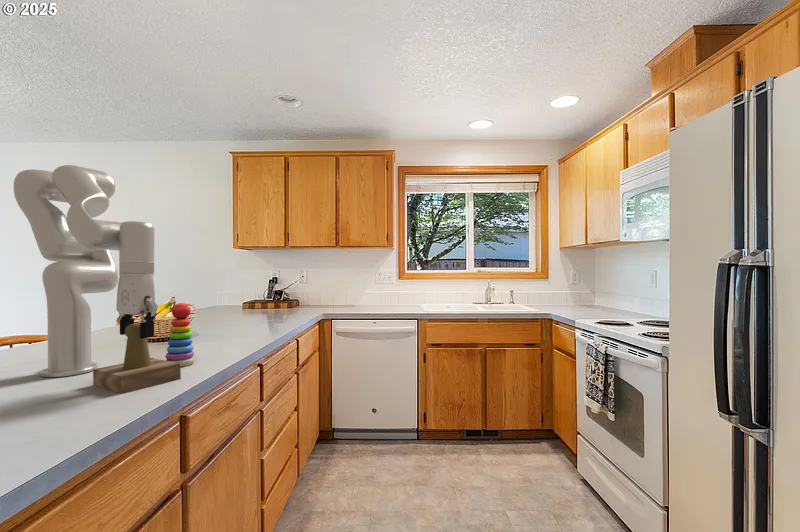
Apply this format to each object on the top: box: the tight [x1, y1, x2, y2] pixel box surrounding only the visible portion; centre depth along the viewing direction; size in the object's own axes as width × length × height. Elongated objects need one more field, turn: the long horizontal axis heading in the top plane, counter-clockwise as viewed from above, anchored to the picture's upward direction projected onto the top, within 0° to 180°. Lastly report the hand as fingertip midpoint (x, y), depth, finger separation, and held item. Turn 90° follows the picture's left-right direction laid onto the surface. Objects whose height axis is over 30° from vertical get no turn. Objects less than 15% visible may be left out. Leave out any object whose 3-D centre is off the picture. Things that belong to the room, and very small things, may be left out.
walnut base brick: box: [92, 357, 182, 395], centre depth 101 cm, size 14×14×4 cm
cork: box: [123, 322, 151, 369], centre depth 102 cm, size 6×6×11 cm
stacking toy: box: [165, 302, 195, 367], centre depth 120 cm, size 8×8×19 cm
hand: (136, 335), depth 102 cm, fingers open, 9 cm apart
